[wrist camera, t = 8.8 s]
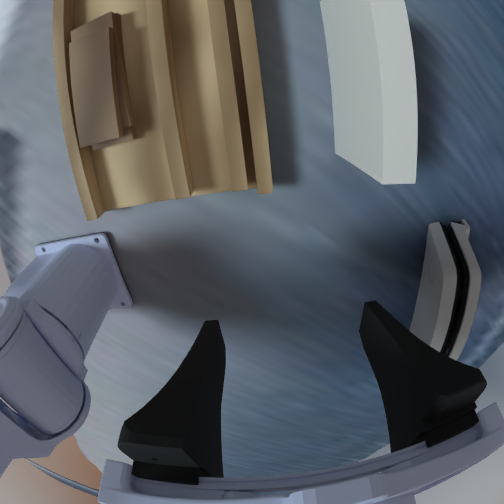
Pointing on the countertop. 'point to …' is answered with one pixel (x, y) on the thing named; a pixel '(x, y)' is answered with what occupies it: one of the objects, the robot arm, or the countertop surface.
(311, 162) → the countertop surface
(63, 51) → the rack
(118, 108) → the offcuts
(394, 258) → the countertop surface
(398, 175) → the white rectangular block
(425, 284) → the grey curved slab
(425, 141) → the countertop surface
